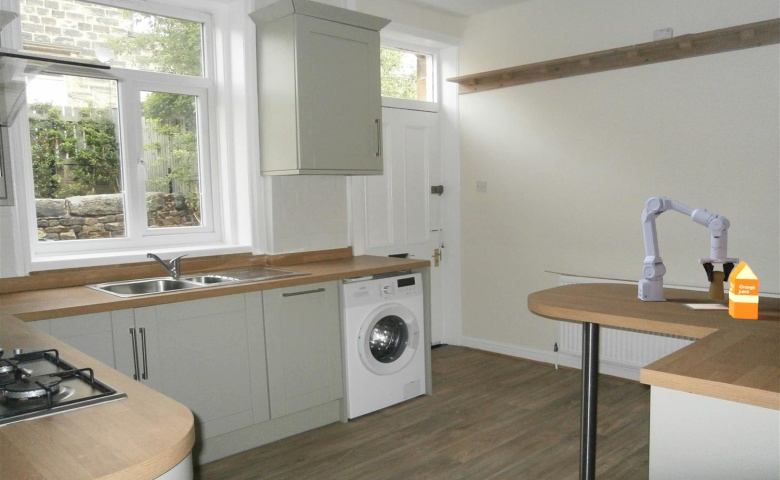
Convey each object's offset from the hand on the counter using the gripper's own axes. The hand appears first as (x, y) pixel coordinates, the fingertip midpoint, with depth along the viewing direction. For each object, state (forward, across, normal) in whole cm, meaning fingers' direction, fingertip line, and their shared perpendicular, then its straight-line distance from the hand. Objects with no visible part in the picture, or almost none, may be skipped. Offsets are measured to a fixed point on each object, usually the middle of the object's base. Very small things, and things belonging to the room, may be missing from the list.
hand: (717, 281), depth 233 cm
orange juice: (+11, +2, -16) cm, 19 cm away
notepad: (+10, -4, 0) cm, 11 cm away
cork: (+7, 0, +1) cm, 7 cm away
